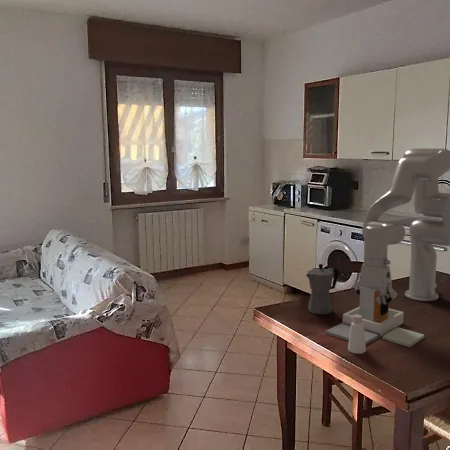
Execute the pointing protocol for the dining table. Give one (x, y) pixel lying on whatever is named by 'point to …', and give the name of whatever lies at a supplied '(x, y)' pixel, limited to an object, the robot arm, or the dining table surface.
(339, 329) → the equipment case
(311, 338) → the dining table surface
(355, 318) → the pepper shaker
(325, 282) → the coffeepot
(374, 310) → the small box
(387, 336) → the rubber mat
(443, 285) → the dining table surface
